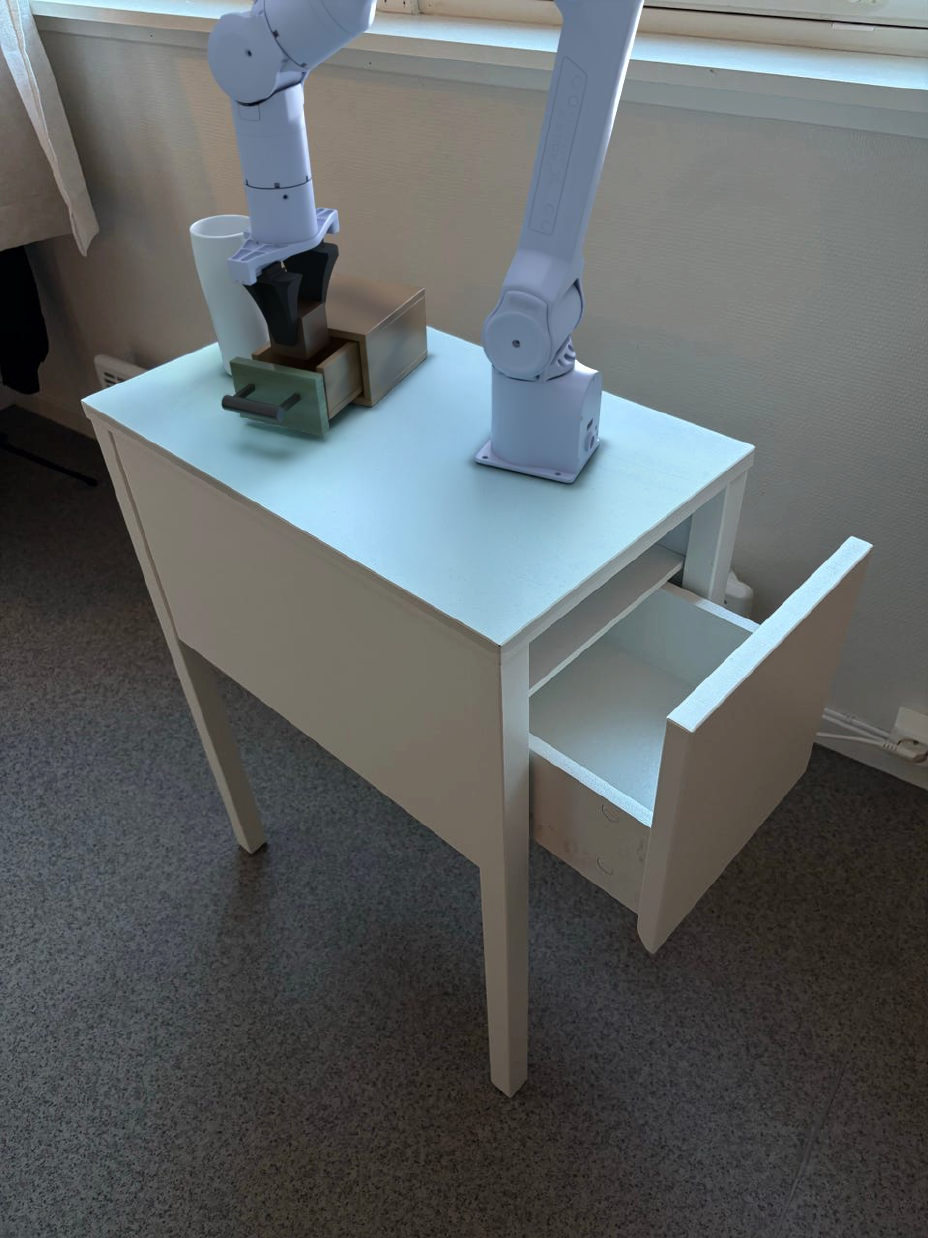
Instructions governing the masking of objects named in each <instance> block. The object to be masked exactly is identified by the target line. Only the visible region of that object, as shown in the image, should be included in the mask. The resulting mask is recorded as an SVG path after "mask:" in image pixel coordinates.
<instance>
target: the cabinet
mask: <svg viewBox="0 0 928 1238" xmlns="http://www.w3.org/2000/svg"><path fill="white" fill-rule="evenodd" d="M325 307H326V316H327V324H328V333H329V336H333V337H339V338H344V339H349V340H355V341H360V342H359V345H360V355H361V365H362V375H363V386H364V390H363V391H362V392H361V393H360V394H359V395H358V396H356V397H355V398H354V399H353V400H352V401H351V402H350V403H351V404H355V405H360V406H365V407H370V408H373V407H374V406H375V405H376V404H378V402H379V401H381V399H383V398H384V397H385V396H386V395H388V393H390V391H392V390H393V389H394V388H395V387H397V385H398V384H399V383H400V382H401V381H402V380H404V378H406V377H407V376H408V375H409V374H410V373H412V372H413V370H415V368H417V367H418V366H419V365H420V364H421V363H423V362H424V361H425V359H426V358H428V356H429V351H428V333H427V332H428V331H427V312H426V311H427V310H426V309H427V308H426V307H427V306H426V288H425V287H423V286H417V285H411V284H402V283H399V282H392V281H385V280H381V279H373V278H367V277H361V276H356V275H350V274H349V275H348V274H342V273H336V274H335V275H333V276H331V278H330V281H329V285H328V290H327V297H326V304H325ZM350 403H349V404H350Z"/></svg>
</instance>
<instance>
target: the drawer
mask: <svg viewBox="0 0 928 1238" xmlns="http://www.w3.org/2000/svg"><path fill="white" fill-rule="evenodd" d="M329 341H330V343H329V344H328V345H326V346H325V347H324V348H323V349H321V350H320V351H319V352H317V353H316V354H315V355H313V356H312V357H311V358H309V359H308V360H305V359H300V358H295V357H290V356H285V355H281V354H276V353H272V351H271V345H270V341H269V342H267V343H266V344H265V345H263V346H262V347H260V348H259V349H257V350H256V351H255V352H253V353H252V354H251V355H252V359H247V358H242V357H237V356H236V357H235V358H233V359H232V360H230V361H229V363H230V368H231V373H232V376H231V377H232V383H233V388H234V394H233V395H231V394H225V395H223V397H222V398H221V408H222V409H223V410H224V411H227V412H233V413H236V414H239V417H240V418H242V419H246V420H251V421H255V422H260V423H264V424H268V425H273V426H277V427H280V428H285V429H290V430H295V431H299V432H303V433H308V434H311V435H316V436H320V437H324V436H326V434H327V433H328V432H330V425H329V420H332V418H335V416H336V415H337V414H338V413H340V411H342V410H343V409H344V408H345V407H346V406H348V405H349V404H350V402H351V401H352V400H353V399H354V398H355V397H356V396H358V395H359V394H360V393H361V392H362V391H363V390H364V386H363V375H362V365H361V355H360V345H359V342H360V341H355V340H349V339H344V338H339V337H333V336H329Z"/></svg>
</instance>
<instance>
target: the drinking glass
mask: <svg viewBox="0 0 928 1238" xmlns="http://www.w3.org/2000/svg"><path fill="white" fill-rule="evenodd" d="M250 226H251V225H250V219H249V215H243V214H242V215H241V214H221V215H220V214H219V215H213V216H209V217H205V218H202V219H199V220H197V221H195V222H194V223H192V224H191V225H190V226H189V229H188V230H189V231H188V232H189V237H190V243H191V249H192V254H193V259H194V264H195V269H196V272H197V277H198V280H199V283H200V287H201V291H202V293H203V297H204V301H205V303H206V307H207V310H208V313H209V317H210V320H211V323H212V328H213V331H214V333H215V337H216V341H217V345H218V348H219V351H220V356H221V360H222V365H223V369H224V371H225V372H226V373H227V374H228V375H229V376H231V377H232V373H231V368H230V363H229V361H230V360H232V359H233V358H235V357H236V356H237V357H242V358H247V359H252V355H251V354H252V353H253V352H255V351H256V350H257V349H259V348H260V347H262V346H263V345H265V344H266V343H267V342H269V341H270V339H269V333H268V327H267V323H266V321H265V318H264V316H263V314H262V312H261V311H260V309H259V307H258V305H257V304H256V302H255V301H254V299H253V298H252V296H251V295H250V293H249V292H248V291H247V290H246V288H245V287H244V286H243V285H242V284H239V283H234V282H231V278H230V273H229V267H228V262H227V259H229V258H230V257H232V256H233V255H234V254H236V253H237V251H238V250H239V249H240V248H241V246H242V245H243V244H244V242H245V241H246V240H247V239H245V238H244V235H243V230H244V229H246V228H248V227H250Z"/></svg>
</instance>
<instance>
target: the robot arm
mask: <svg viewBox="0 0 928 1238" xmlns="http://www.w3.org/2000/svg"><path fill="white" fill-rule="evenodd" d="M252 1H253V3H252V5H251V8H250V10H247V11H244V12H239V11H238V12H228V13H224V14H222V15H220V17H219V19H218V22H217V23H216V24H215V25H214V26H213V28H212V30H211V31H210V33H209V35H208V39H207V46H206V53H207V54H206V55H207V61H208V66H209V69H210V72H211V74H212V76H213V79H214V81H215V82H216V83H217V85H218V86H219V88H220V89H221V90H222V91H223V93H225V94H226V95H227V96H228V97H229V101H230V102H229V103H230V109H231V115H232V122H233V126H234V133H235V140H236V145H237V152H238V157H239V165H240V169H241V176H242V183H243V187H244V193H245V199H246V204H247V205H246V206H247V212H248V217H249V219H250V225H251V226H250V227H248V228H246V229H244V230H243V235H244V238H245V239H247V240H246V241H245V242H244V244H243V245H242V246H241V248H240V249H239V250H238V251H237V253H236V254H234V255H233V256H232V257H230V258H229V259H227V262H228V267H229V273H230V278H231V282H234V283H239V284H242V285H243V286H244V287H245V288H246V290H247V291H248V292H249V293H250V295H251V296H252V298H253V299H254V301H255V302H256V304H257V305H258V307H259V309H260V311H261V312H262V314H263V316H264V318H265V321H266V323H267V325H268V327H269V330H270V332H271V334H272V337H273V339H274V341H275V343H276V344H281V345H286V346H291V347H293V346H295V345H296V344H297V338H298V323H297V298H303V299H308V300H314V301H320V302H325V304H326V297H327V290H328V285H329V281H330V277H332V275H333V270H334V268H335V265H336V262H337V260H338V258H339V256H340V252H339V245H337V244H336V243H332V242H327V241H326V242H325V240H324V238H325V237H324V236H326V235H328V234H329V235H335V234H337V233H339V232H340V222H339V214H338V213H339V212H338V210H337V209H333V208H327V207H317V208H316V202H315V201H316V200H315V193H314V185H313V177H312V168H311V160H310V153H309V152H310V151H309V143H308V136H307V126H306V118H305V109H304V104H305V95H304V85H305V82H306V80H307V78H308V77H309V74H310V72H311V71H312V70H313V69H315V68H316V67H317V66H318V65H320V64H321V63H323V62H325V60H327V59H328V58H330V57H331V56H333V55H334V54H336V53H337V52H338V51H340V50H341V49H342V48H344V47H346V46H347V45H349V44H350V43H351V42H352V41H354V40H355V39H357V38H358V37H359V36H361V35H362V34H364V33H366V31H368V30H370V28H371V27H372V25H373V23H374V19H375V15H376V8H377V2H378V0H252ZM552 1H553V3H554V4H555V6H556V7H557V10H558V11H559V12H560V14H561V17H562V24H561V29H560V34H559V38H558V44H557V48H556V53H555V54H556V55H555V58H554V64H553V69H552V74H551V79H550V84H549V88H548V94H547V99H546V104H545V109H544V114H543V119H542V124H541V129H540V134H539V139H538V143H537V148H536V155H535V158H534V164H533V169H532V174H531V180H530V184H529V189H528V195H527V199H526V204H525V209H524V214H523V219H522V224H521V229H520V233H519V239H518V244H517V248H516V251H515V254H514V256H513V258H512V261H511V263H510V266H509V268H508V270H507V273H506V275H505V277H504V280H503V282H502V285H501V290H500V295H499V298H498V301H497V303H496V305H495V307H494V308H493V309H492V310H491V311H490V312H489V314H488V315H487V316H486V318H485V319H484V322H483V324H482V327H481V336H480V338H481V339H480V340H481V346H482V349H483V352H484V355H485V356H486V358H487V359H488V361H489V362H490V363H491V382H490V383H491V385H490V386H491V389H490V390H491V397H490V398H491V401H490V403H491V405H490V407H491V411H490V412H491V413H490V415H491V417H490V418H491V421H490V422H491V423H490V424H491V427H490V428H491V429H490V431H491V433H490V434H491V435H490V438H489V439H488V441H486V442H485V444H483V446H482V447H481V448H480V449H479V451H478V452H477V453H476V454H475V456H474V462H476V463H479V464H483V465H486V466H487V465H488V466H492V467H496V468H500V469H505V470H508V471H513V472H517V473H522V474H526V475H531V476H536V477H540V478H543V479H544V478H545V479H548V480H554V481H558V482H562V483H565V484H566V483H567V484H571V483H573V482H574V481H575V480H576V478H577V477H578V475H579V474H580V472H582V470H583V468H584V466H586V464H587V462H588V461H589V459H590V458H591V456H592V455H593V453H594V452H595V450H596V449H597V448H598V446H599V444H600V443H601V439H600V438H599V431H600V429H599V428H600V416H601V407H602V396H603V395H602V394H603V376H602V373H601V371H599V370H596V369H593V368H590V367H588V366H585V365H584V364H583V363H581V362H580V361H578V360H577V359H576V356H577V353H576V352H575V347H574V343H573V341H572V338H571V333H572V332H573V331H574V330H575V329H576V328H577V327H578V325H579V324H580V323H581V321H582V319H583V317H584V313H585V307H586V301H585V293H584V290H583V283H582V279H583V274H584V269H585V266H586V265H585V264H586V261H585V258H584V256H583V246H584V242H585V238H586V236H587V230H588V227H589V223H590V218H591V214H592V212H593V211H592V210H593V207H594V202H595V199H596V195H597V191H598V186H599V182H600V179H601V174H602V170H603V167H604V162H605V158H606V154H607V151H608V147H609V142H610V139H611V134H612V131H613V126H614V121H615V118H616V114H617V110H618V106H619V102H620V98H621V94H622V91H623V87H624V86H623V85H624V82H625V79H626V74H627V71H628V70H627V69H628V66H629V62H630V58H631V54H632V51H633V46H634V42H635V39H636V35H637V30H638V26H639V22H640V18H641V14H642V10H643V7H644V3H645V0H552ZM282 264H283V265H282Z"/></svg>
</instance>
